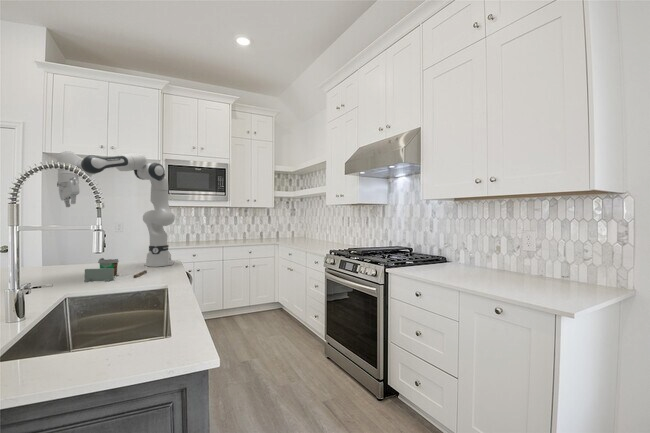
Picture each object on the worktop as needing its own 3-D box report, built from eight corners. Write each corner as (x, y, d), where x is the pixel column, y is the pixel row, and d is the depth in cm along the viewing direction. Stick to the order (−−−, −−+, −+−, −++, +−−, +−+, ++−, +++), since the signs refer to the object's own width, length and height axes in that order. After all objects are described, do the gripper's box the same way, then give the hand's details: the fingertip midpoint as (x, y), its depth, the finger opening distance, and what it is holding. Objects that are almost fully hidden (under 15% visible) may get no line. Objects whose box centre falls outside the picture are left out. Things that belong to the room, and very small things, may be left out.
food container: (92, 276, 186) (92, 259, 186) (102, 274, 192) (102, 257, 192) (108, 277, 182) (108, 260, 182) (118, 275, 188) (118, 258, 188)
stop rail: (144, 272, 198) (144, 270, 198) (146, 272, 198) (146, 270, 198) (133, 278, 182) (133, 275, 182) (135, 278, 182) (135, 275, 182)
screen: (86, 280, 174) (86, 268, 174) (114, 280, 177) (114, 268, 176) (82, 282, 171) (82, 270, 171) (110, 281, 173) (110, 269, 173)
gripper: (81, 176, 171) (84, 201, 170) (70, 185, 183) (72, 208, 182) (67, 175, 166) (69, 201, 165) (56, 184, 178) (58, 208, 177)
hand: (70, 205), depth 174 cm, fingers open, 8 cm apart
